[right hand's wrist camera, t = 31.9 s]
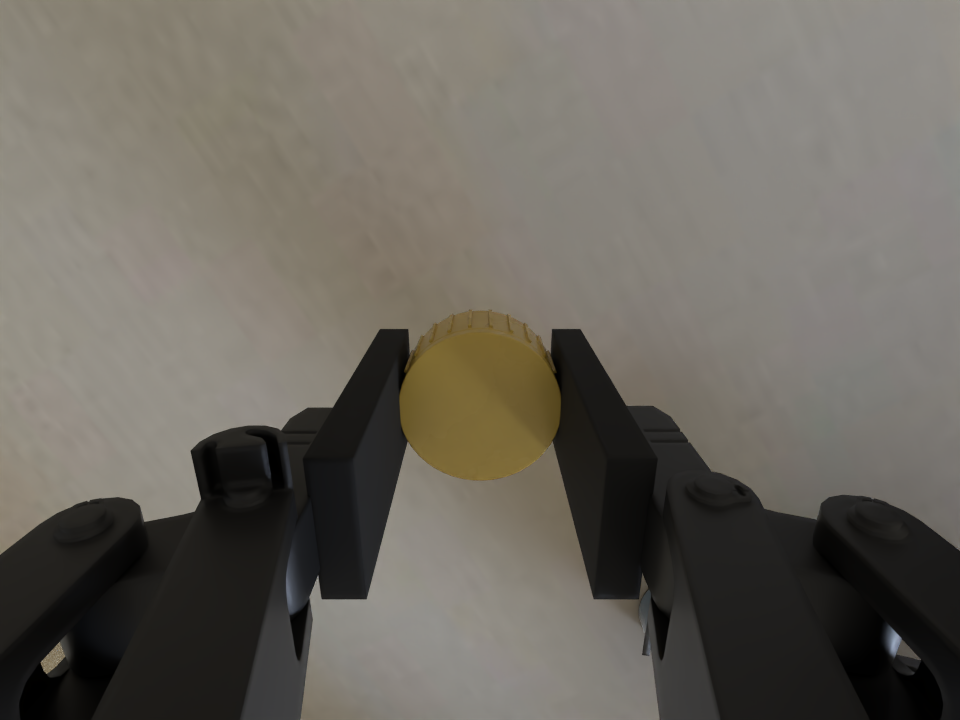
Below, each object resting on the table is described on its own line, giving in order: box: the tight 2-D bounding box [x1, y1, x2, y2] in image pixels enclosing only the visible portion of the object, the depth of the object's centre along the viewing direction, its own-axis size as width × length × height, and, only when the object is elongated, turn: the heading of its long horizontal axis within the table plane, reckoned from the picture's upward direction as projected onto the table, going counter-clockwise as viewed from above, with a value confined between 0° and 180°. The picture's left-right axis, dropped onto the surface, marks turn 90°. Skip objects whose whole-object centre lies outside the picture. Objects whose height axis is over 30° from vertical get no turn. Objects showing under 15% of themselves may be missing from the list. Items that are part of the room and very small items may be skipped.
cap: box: [399, 309, 561, 480], centre depth 13 cm, size 4×4×2 cm
